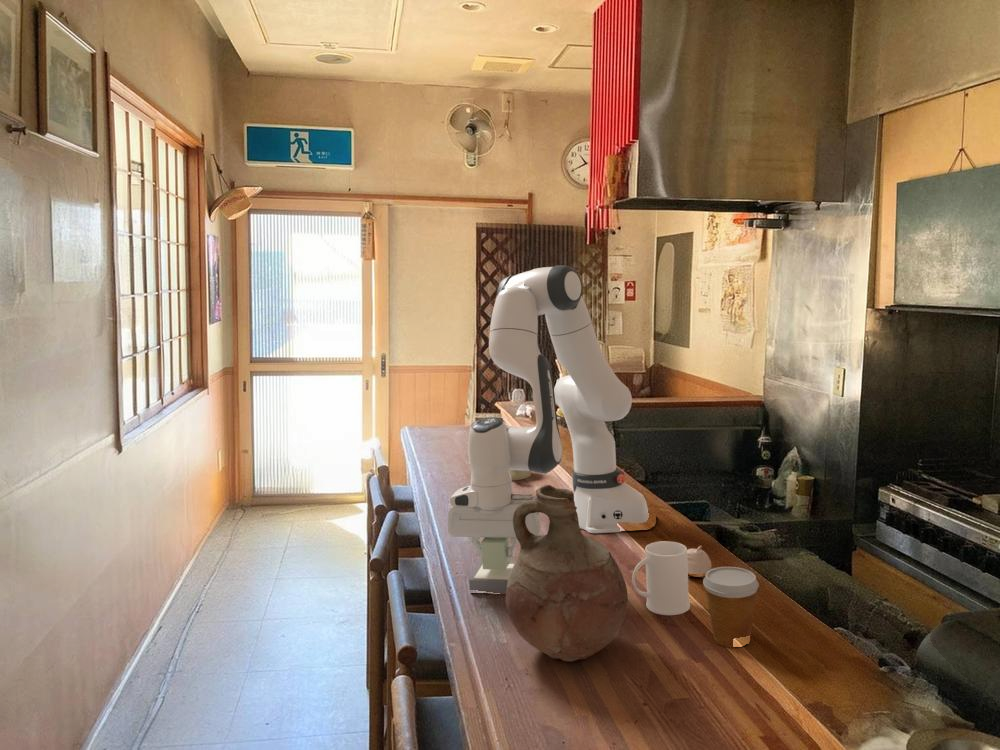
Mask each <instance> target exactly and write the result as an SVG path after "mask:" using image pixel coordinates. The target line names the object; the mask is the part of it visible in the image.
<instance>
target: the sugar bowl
mask: <svg viewBox="0 0 1000 750" xmlns="http://www.w3.org/2000/svg"><path fill="white" fill-rule="evenodd" d="M509 472H510V475H511V480H512V481H521V480H525V479H528V478H530V477H531V476H532V472H531V471H524V470H510V469H509Z"/></svg>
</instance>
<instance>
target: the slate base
mask: <svg viewBox="0 0 1000 750" xmlns="http://www.w3.org/2000/svg"><path fill="white" fill-rule="evenodd" d="M514 564H515V562H510V563H509V565H508V567H507V568H506V570H490V569H483V563H482V561H481V562H480V563H479V564H478V565H477V568H476V569H475V571H474V572H473V573H472V575H471V576H470V578H469V580H468V583H469V591H470V590H478V591H486V592H493V593H500V594H506V588H507V583H508V579H509V576H510V573H511V571H512V568H513V566H514Z"/></svg>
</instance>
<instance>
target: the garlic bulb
mask: <svg viewBox="0 0 1000 750" xmlns="http://www.w3.org/2000/svg"><path fill="white" fill-rule="evenodd" d="M702 548H703V547H702V545H699V546H698V547H697V548H688V549H687V565H688V573H689V574H702V575H703V574H706V573H707V571H709V570H711V569H712V561H711V559H710V557H709V555H708V554H707V552H705V551H704V550H703V549H702Z"/></svg>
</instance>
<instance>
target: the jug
mask: <svg viewBox="0 0 1000 750" xmlns="http://www.w3.org/2000/svg"><path fill="white" fill-rule="evenodd" d="M535 494H536V496H535V497H536V500H528V501H524V502H522V503H521V504H520V505H519V506H518V507H517V508H516V510H515V512H514V516H513V527H514V532H515V535H516V537H517V539H518V543H519V545H520V547H519V548H520V549H519V553H518V555H517V558H516V560H515V562H514V563H515V564H514V566H513V568H512V571H511V573H510V576H509V579H508V583H507V588H506V595H505V605H506V610H507V613H508V616H509V618H510V620H511V623H512V625H513V626H514V628H515V629H516V632H517V633H518V634H519V635H520V636H521V638H523V640H525V641H526V642H527V643H528V644H529V645H531V646H532V647H533V648H535V649H536V650H538V651H539V652H541V653H543V654H546V655H547V656H548V657H549V658H552V659H554V660H555V659H556V660H558V659H559V660H561V661H563V662H575V661H578V660H587V659H588V658H590V657H592V656H595V655H596V653H598V652H599V651H602V649H604V648H605V647H607V645H609V644H610V643H611V642H612V641H613V640H614V639H615V637H617V636H618V634H619V632H620V629H621V628H622V626H623V624H624V621H625V617H626V614H627V611H628V601H629V599H628V598H629V597H628V588H627V584H626V581H625V578H624V576H623V573H622V571H621V569H620V567H619V565H618V564H617V562H616V560H615V558H614V557H613V555H612V554H611V552H610V550H609V549H608V548H607V547H606V546H605V545H604V544H602V543H600V542H598V541H597V540H595V539H592V538H591V537H589V536H587V535H584V534H583V533H582V531H581V528H580V527H579V521H578V515H577V512H576V509H577V507H576V506H575V502H574V491H572V490H570V489H566V488H565V489H564V488H557V487H555V486H552V485H550V484H545V485H541V486H540V487H539V488H537V489H536V491H535ZM536 512H540V513H541V514H544V515H545V516H547V517H548V520H549V523H548V531H547V533H545V534H542V535H534V534H532V533H530V531H529V530H528V529H527V526H526V523H525V520H526V516H527V515H528V514H530V513H536ZM540 513H539V514H540Z"/></svg>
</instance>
